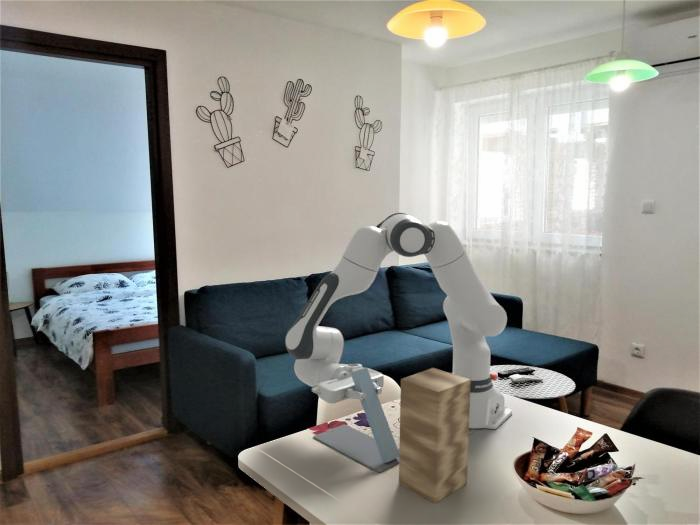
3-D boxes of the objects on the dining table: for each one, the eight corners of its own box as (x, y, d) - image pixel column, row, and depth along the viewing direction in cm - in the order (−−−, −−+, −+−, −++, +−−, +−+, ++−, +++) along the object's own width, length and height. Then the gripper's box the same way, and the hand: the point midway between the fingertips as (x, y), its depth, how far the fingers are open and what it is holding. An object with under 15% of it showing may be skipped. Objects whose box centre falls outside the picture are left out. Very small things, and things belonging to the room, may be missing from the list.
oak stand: (430, 466, 137) (433, 367, 134) (466, 483, 129) (470, 379, 126) (398, 483, 129) (400, 378, 126) (435, 503, 121) (438, 392, 118)
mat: (344, 425, 161) (344, 424, 161) (411, 457, 142) (411, 455, 142) (313, 437, 153) (313, 436, 153) (379, 473, 134) (379, 471, 134)
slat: (362, 369, 147) (367, 367, 145) (395, 457, 141) (400, 455, 140) (350, 373, 144) (354, 371, 142) (383, 463, 138) (388, 461, 137)
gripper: (308, 377, 144) (342, 391, 134) (362, 362, 158) (398, 374, 148) (307, 400, 145) (342, 416, 135) (362, 382, 159) (397, 396, 149)
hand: (372, 394), depth 142 cm, fingers closed on slat, 5 cm apart
